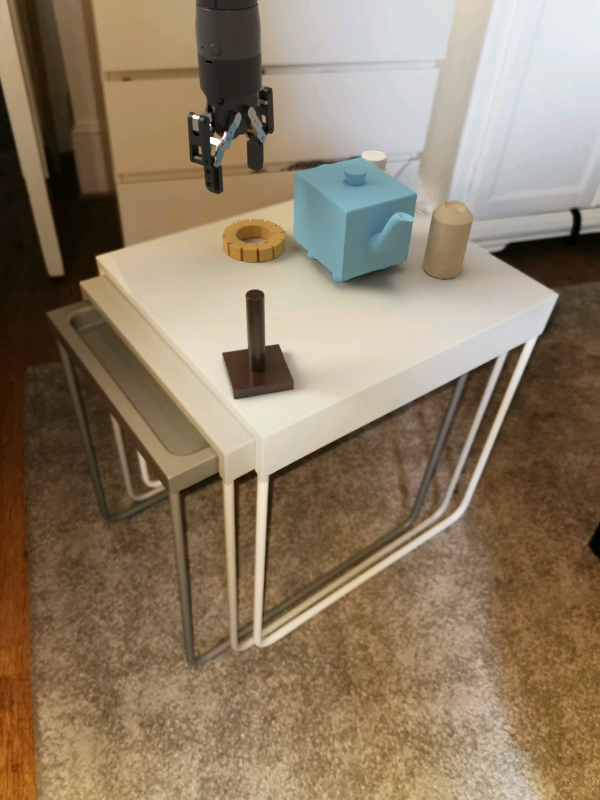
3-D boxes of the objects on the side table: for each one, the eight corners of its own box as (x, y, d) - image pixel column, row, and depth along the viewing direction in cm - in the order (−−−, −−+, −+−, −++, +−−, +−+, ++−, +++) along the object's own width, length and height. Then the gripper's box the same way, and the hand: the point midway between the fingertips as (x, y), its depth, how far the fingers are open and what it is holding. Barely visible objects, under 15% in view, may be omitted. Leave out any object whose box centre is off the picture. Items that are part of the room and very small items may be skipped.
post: (233, 399, 72) (228, 318, 64) (222, 360, 77) (216, 280, 69) (293, 388, 73) (295, 308, 65) (278, 351, 78) (279, 272, 70)
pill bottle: (369, 219, 103) (374, 165, 97) (346, 207, 106) (350, 154, 99) (391, 209, 105) (398, 156, 99) (367, 197, 108) (373, 145, 102)
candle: (449, 283, 90) (464, 218, 83) (415, 270, 92) (426, 205, 85) (467, 267, 93) (482, 203, 86) (434, 254, 95) (446, 191, 88)
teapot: (284, 239, 97) (284, 150, 88) (344, 223, 102) (351, 135, 92) (365, 315, 84) (377, 219, 74) (432, 292, 88) (451, 198, 79)
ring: (236, 267, 91) (236, 255, 90) (214, 237, 97) (213, 225, 96) (294, 254, 94) (295, 242, 93) (270, 226, 100) (270, 214, 99)
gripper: (241, 28, 80) (246, 155, 91) (163, 55, 72) (178, 192, 83) (290, 39, 77) (289, 169, 89) (214, 68, 69) (223, 208, 80)
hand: (235, 180), depth 86 cm, fingers open, 8 cm apart
